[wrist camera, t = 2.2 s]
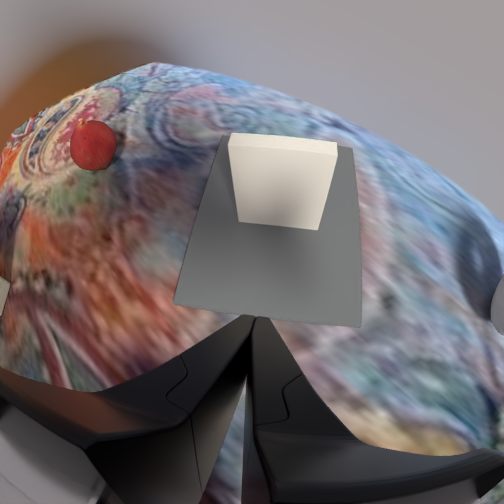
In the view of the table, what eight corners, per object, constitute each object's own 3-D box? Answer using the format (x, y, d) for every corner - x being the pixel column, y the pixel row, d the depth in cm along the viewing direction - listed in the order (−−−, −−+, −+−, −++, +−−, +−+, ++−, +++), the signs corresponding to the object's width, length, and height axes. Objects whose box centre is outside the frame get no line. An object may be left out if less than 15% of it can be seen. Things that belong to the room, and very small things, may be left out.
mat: (359, 327, 21) (361, 326, 20) (174, 304, 22) (172, 303, 22) (351, 150, 30) (352, 148, 29) (223, 138, 31) (222, 135, 31)
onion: (79, 187, 29) (48, 142, 22) (94, 154, 32) (70, 110, 25) (117, 181, 29) (89, 130, 22) (131, 148, 32) (109, 98, 25)
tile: (317, 230, 24) (337, 155, 16) (238, 221, 25) (227, 145, 17) (318, 215, 25) (336, 139, 17) (241, 207, 26) (232, 130, 18)
